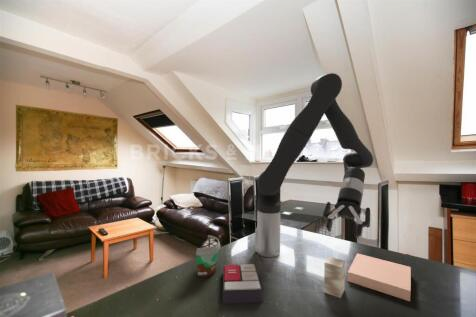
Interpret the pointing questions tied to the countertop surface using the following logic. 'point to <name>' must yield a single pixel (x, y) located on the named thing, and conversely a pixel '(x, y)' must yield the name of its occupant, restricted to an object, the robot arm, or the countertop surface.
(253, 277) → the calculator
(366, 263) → the plinth
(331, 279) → the ash block
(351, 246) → the countertop surface
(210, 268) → the food container
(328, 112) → the robot arm
